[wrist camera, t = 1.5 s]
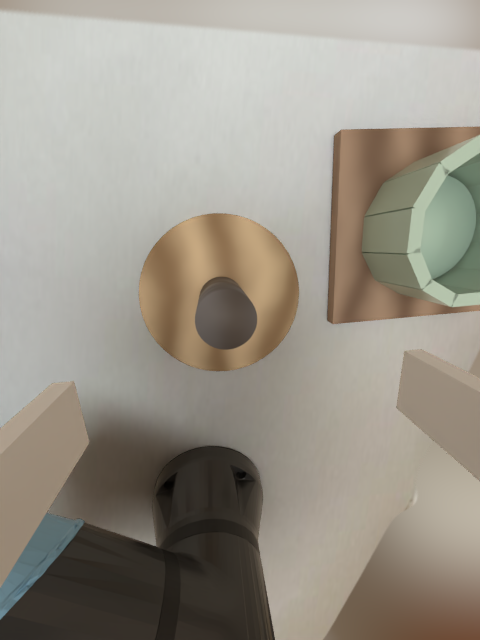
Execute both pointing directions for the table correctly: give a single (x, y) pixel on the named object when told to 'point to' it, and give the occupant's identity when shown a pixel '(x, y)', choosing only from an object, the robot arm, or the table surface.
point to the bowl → (429, 228)
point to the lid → (218, 292)
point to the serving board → (351, 206)
